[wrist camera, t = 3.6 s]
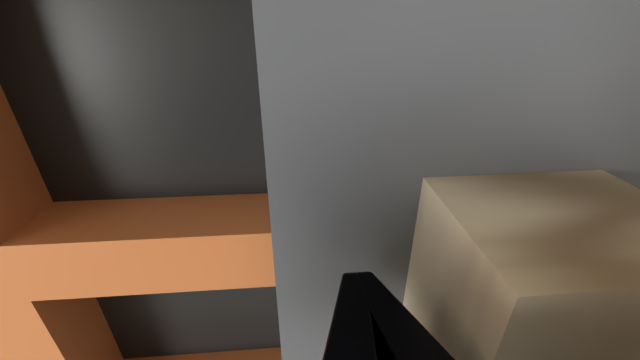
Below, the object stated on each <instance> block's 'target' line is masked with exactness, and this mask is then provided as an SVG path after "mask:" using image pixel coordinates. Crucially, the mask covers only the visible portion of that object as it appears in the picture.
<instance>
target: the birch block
mask: <svg viewBox="0 0 640 360" xmlns="http://www.w3.org/2000/svg"><path fill="white" fill-rule="evenodd" d="M403 305H404V306H405V307H406V308H407V309H408V311H409V312H410V313H411V314H412V315H413V316H414V317H415V318H416V319H417V320H418V321H419V322H420V323H421V324H422V325H423V326H424V327H425V328H426V329H427V330H428V332H429V333H430V334H431V335H432V336H433V337H434V338H435V339H436V340H437V341H438V342H439V343H440V344H441V345H442V346H443V347H444V348H445V349H446V350H447V351H448V352H449V354H450V355H451V356H452V357H453V358H454V359H455V360H640V189H639V188H637V187H635V186H633V185H631V184H629V183H627V182H625V181H623V180H621V179H620V178H618V177H616V176H614V175H612V174H610V173H608V172H606V171H604V170H602V169H601V170H579V171H557V172H535V173H513V174H491V175H469V176H447V177H424V178H423V182H422V188H421V194H420V200H419V207H418V213H417V219H416V225H415V232H414V238H413V244H412V250H411V257H410V263H409V269H408V276H407V282H406V288H405V294H404V301H403Z"/></svg>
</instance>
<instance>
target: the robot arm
mask: <svg viewBox="0 0 640 360" xmlns="http://www.w3.org/2000/svg"><path fill="white" fill-rule="evenodd" d="M322 360H455V359H454V358H453V357H452V356H451V355H450V354H449V352H448V351H447V350H446V349H445V348H444V347H443V346H442V345H441V344H440V343H439V342H438V341H437V340H436V339H435V338H434V337H433V336H432V335H431V334H430V333H429V332H428V330H427V329H426V328H425V327H424V326H423V325H422V324H421V323H420V322H419V321H418V320H417V319H416V318H415V317H414V316H413V315H412V314H411V313H410V312H409V311H408V309H407V308H406V307H405V306H404V305H403V304H402V303H401V302H400V301H399V300H398V299H397V298H396V297H395V296H394V295H393V294H392V293H391V292H390V291H389V290H388V289H387V287H386V286H385V285H384V284H383V283H382V282H381V281H380V280H379V279H378V278H377V277H376V276H375V275H374V274H373V273H372V272H370V271H367V272H351V273H344V274H343V275H342V279H341V283H340V287H339V291H338V296H337V300H336V304H335V308H334V313H333V317H332V321H331V325H330V330H329V334H328V338H327V342H326V347H325V351H324V355H323V359H322Z"/></svg>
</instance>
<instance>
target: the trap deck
mask: <svg viewBox="0 0 640 360" xmlns="http://www.w3.org/2000/svg"><path fill="white" fill-rule="evenodd" d="M601 169H602V170H604V171H606V172H608V173H610V174H612V175H614V176H616V177H618V178H620V179H621V180H623V181H625V182H627V183H629V184H631V185H633V186H635V187H637V188H639V189H640V0H0V360H322V359H323V355H324V351H325V347H326V342H327V338H328V334H329V330H330V325H331V321H332V317H333V313H334V308H335V304H336V300H337V296H338V291H339V287H340V283H341V279H342V275H343V274H344V273H351V272H367V271H370V272H372V273H373V274H374V275H375V276H376V277H377V278H378V279H379V280H380V281H381V282H382V283H383V284H384V285H385V286H386V287H387V289H388V290H389V291H390V292H391V293H392V294H393V295H394V296H395V297H396V298H397V299H398V300H399V301H400V302H401V303H402V304H403V301H404V294H405V288H406V282H407V276H408V269H409V263H410V257H411V250H412V244H413V238H414V232H415V225H416V219H417V213H418V207H419V200H420V194H421V188H422V182H423V178H424V177H447V176H469V175H491V174H513V173H535V172H557V171H579V170H601Z"/></svg>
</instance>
